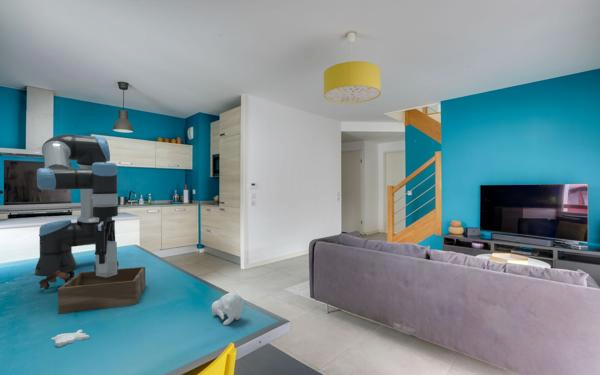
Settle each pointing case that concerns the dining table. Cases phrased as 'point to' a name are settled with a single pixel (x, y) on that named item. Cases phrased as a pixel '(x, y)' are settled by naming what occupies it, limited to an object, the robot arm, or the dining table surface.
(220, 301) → the white animal figurine
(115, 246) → the skincare box
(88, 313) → the dining table surface
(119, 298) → the peg box
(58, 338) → the acanthus leaf ornament
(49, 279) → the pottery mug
